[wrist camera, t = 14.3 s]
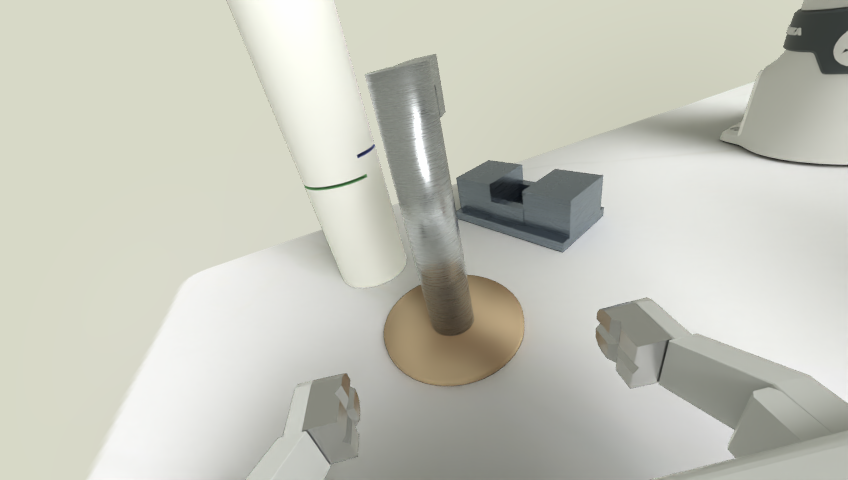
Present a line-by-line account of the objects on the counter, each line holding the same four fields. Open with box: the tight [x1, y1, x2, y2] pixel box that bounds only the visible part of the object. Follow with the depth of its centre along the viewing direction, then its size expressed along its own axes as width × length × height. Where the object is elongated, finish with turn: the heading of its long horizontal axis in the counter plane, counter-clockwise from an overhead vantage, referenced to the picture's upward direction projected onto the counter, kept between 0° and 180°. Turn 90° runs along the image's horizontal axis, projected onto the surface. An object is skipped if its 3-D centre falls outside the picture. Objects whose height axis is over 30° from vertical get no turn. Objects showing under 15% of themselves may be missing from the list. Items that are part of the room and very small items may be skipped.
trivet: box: [384, 275, 524, 386], centre depth 26 cm, size 11×11×1 cm
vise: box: [456, 160, 604, 252], centre depth 37 cm, size 14×8×5 cm, turn 41°
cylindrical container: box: [226, 0, 407, 288], centre depth 29 cm, size 7×7×25 cm
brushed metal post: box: [365, 54, 474, 336], centre depth 23 cm, size 7×3×18 cm, turn 166°
